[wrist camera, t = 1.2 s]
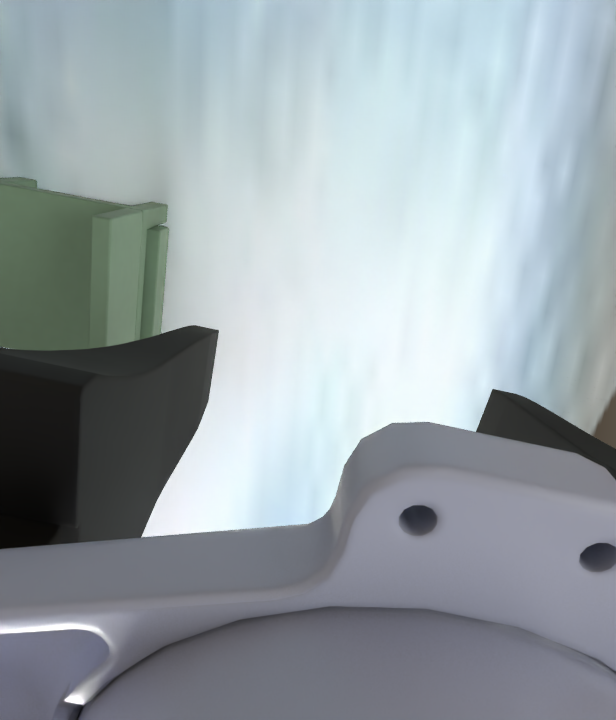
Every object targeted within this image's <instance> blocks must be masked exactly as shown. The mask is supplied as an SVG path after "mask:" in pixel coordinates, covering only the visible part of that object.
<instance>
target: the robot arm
mask: <svg viewBox="0 0 616 720" xmlns="http://www.w3.org/2000/svg"><path fill="white" fill-rule="evenodd" d="M218 333H219V330H215V329H210V328H205V327H200V326H196V325H193V326H187V327H183V328H179V329H176V330H173V331H169V332H166V333H163V334H159V335H156V336H152V337H149V338H144V339H140V340H136V341H132V342H128V343H124V344H119V345H113V346H107V347H99V348H91V349H76V350H51V351H43V350H18V349H3V348H0V720H616V449H615V448H613V447H611V446H609V445H607V444H605V443H604V442H602V441H600V440H598V439H597V438H595V437H593V436H591V435H590V434H588V433H586V432H584V431H583V430H581V429H579V428H578V427H576V426H574V425H573V424H571V423H569V422H568V421H566V420H564V419H563V418H561V417H559V416H558V415H556V414H554V413H553V412H551V411H549V410H547V409H546V408H544V407H542V406H541V405H539V404H537V403H535V402H533V401H531V400H529V399H527V398H525V397H523V396H520V395H517V394H514V393H509V392H504V391H500V390H495V389H493V390H492V392H491V395H490V397H489V400H488V402H487V405H486V408H485V410H484V413H483V415H482V418H481V420H480V423H479V426H478V428H477V431H476V432H473V431H468V430H464V429H459V428H454V427H449V426H445V425H440V424H435V423H430V422H414V423H391V424H389V425H388V426H386V427H384V428H382V429H380V430H378V431H376V432H374V433H372V434H370V435H368V436H367V437H365V438H363V439H361V440H360V442H359V444H358V445H357V447H356V448H355V450H354V451H353V453H352V454H351V456H350V458H349V459H348V461H347V462H346V464H345V465H344V469H343V472H342V476H341V479H340V483H339V486H338V490H337V493H336V497H335V499H334V501H333V503H332V505H331V508H330V509H329V510H328V512H327V513H326V514H325V515H324V516H323V517H321V518H320V519H318V520H316V521H314V522H311V523H309V524H300V525H288V526H276V527H264V528H252V529H240V530H227V531H215V532H203V533H191V534H179V535H167V536H154V537H142V538H141V536H142V534H143V531H144V529H145V527H146V524H147V522H148V520H149V517H150V515H151V513H152V510H153V508H154V506H155V503H156V501H157V499H158V497H159V495H160V494H161V492H162V490H163V488H164V486H165V484H166V483H167V481H168V479H169V477H170V476H171V474H172V472H173V471H174V469H175V467H176V465H177V464H178V462H179V460H180V459H181V457H182V455H183V454H184V452H185V450H186V448H187V447H188V445H189V443H190V441H191V440H192V438H193V436H194V434H195V433H196V431H197V429H198V426H199V424H200V421H201V419H202V416H203V414H204V411H205V408H206V406H207V403H208V400H209V393H210V386H211V379H212V373H213V366H214V359H215V353H216V346H217V339H218Z"/></svg>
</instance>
